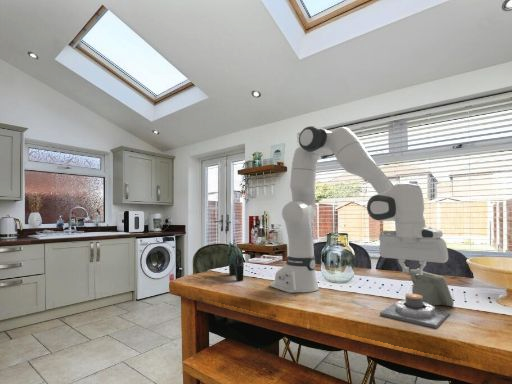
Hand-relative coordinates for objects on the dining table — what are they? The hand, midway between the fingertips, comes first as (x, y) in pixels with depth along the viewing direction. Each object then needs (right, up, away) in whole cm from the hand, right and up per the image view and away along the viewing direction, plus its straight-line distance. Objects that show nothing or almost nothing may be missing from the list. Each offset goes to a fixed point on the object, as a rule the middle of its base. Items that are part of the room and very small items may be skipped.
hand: (412, 273), depth 96 cm
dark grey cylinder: (0, -12, -1) cm, 12 cm away
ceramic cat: (-62, -19, +60) cm, 88 cm away
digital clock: (+14, -14, +13) cm, 23 cm away
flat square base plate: (0, -13, -1) cm, 13 cm away
